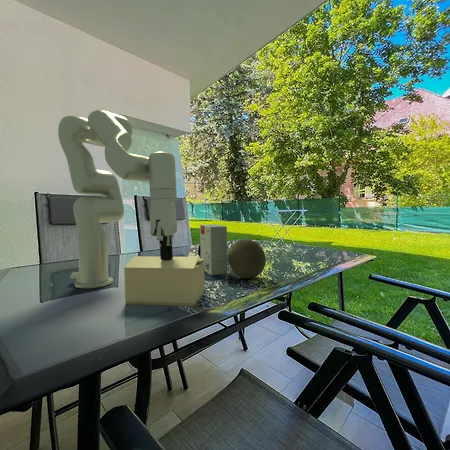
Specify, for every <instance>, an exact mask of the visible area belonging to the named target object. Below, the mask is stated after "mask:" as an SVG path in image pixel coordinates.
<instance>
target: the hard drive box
mask: <svg viewBox="0 0 450 450" xmlns="http://www.w3.org/2000/svg"><path fill="white" fill-rule="evenodd" d="M199 234H200V235H199V237H200V238H199V240H200V241H199V242H200V259H204V272H206V273H207V274H208V275H210V276H219V275H226V274H227V275H228V226H226V225H223V224H222V225H221V224H209V223H208V224H200V225H199Z"/></svg>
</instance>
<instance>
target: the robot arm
mask: <svg viewBox="0 0 450 450" xmlns="http://www.w3.org/2000/svg"><path fill="white" fill-rule="evenodd" d="M57 133H58V141H59V143H60V144H59V145H60V147H61V149H62V151H63V153H64V155H65V158H66V160H67V161H66V162H67V164H68V165H67V166H68V171H69V175H70V179H71V184H72V187H73V190H74V191H75V192H76V193H77V194H80V195H89V196H83V197H80V198H77V199H76V200H75V201H74V203H73V206H72V210H73V211H72V212H73V216H74V220H75V224H76V230H77V231H76V233H77V234H76V235H77V250H78V251H77V253H78V254H77V255H78V271H77V272H76V271H75V272H74V271H73V272H72V273H71V274H70V276H69V277H70V279H76V281H75V282H74V287H75V288H78V289H95V288H101V287H106V286H108V285H111V284H112V283H113V282H114V278H113V277H111V276H109V255H108V236H107V232H106V230H105V228H104V227H103V225H102V224H103V223H104V224H105V223H117V222H119V221H122V219H123V218H124V215H125V208H124V202H123V197H122V193H121V189H120V185H119V181H118V179H117V177H116V175H117V176H118V177H119V178H121V179H123V180H126V181H134V182H143V183H148V184H149V199H150V207H149V208H150V210H149V230H150V231H149V233H150V235H151V236H152V237H156V240H157V242H158V244H159V245H158V246H159V253H160V256H159V257H160V258H161V260H171V259H173V257H174V253H173V242H174V241H173V239H174V236H175V234H176V233H177V231H178V223H177V222H178V221H177V211H176V204H175V203H176V202H177V201H178V199H177V197H178V195H177V178H176V175H177V174H176V160H175V156H174V154H172V153H171V152H165V151H156V152H152V153H150V154H149V155H148V156H144V155H139V154H134V153H130V152H128V151H129V149H130V148H131V146H132V143H133V137H132V135H133V127H132V124H131V122H130V121H129V120H128V119H127V118H126V117H124V116H122V115H118V114H115V113H112V112H109V111H106V110H101V109H95V110H93V111H90V114H89V115H88V117H86V118H85V117H81V116H78V115H66V116H64V117H62V118H61V120H60V121H59V124H58V131H57ZM83 143H84V144H89V145H93V146H98V147H105V148H104V159H105V161H106V164H107V166H109V168H110V169H111V170H112V171H113V172H114V173H112V172H110V171H108V170H102V169H97V168H96V166H95V163H94V162H95V161H94V157H93V156H92V154H91V152H90V151H89V149H88V148H87V147H86V146H85V145H84V144H83Z"/></svg>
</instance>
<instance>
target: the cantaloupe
mask: <svg viewBox="0 0 450 450" xmlns="http://www.w3.org/2000/svg"><path fill="white" fill-rule="evenodd" d="M227 263H228V265H229V268H230V269H231V271H232V272H233V273H234V274H235V275H236V276H238V277H240V278H241V279H245V280H246V279H247V280H250V279H254V278H257V277H258V276H259V275H261V274H262V272H263V271H264V270H265V267H266V264H267V258H266V253H265V251H264V248H263V247H262V246H261V244H260V243H258V242H257V241H255V240H253V239H242V240H239V241H236V242H234V243H233V244H232V245H231V247H230V248H229V249H228V251H227Z"/></svg>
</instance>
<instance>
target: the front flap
mask: <svg viewBox="0 0 450 450" xmlns="http://www.w3.org/2000/svg"><path fill="white" fill-rule="evenodd" d="M199 259H200V256H173V259H171V260H161V258H160V256H151V255H150V256H139V255H137V256H135V255H134V256H133V257H132V258H131V260H130V261H129V262H128V263H127V264H126V265H125V266H124V268H123V269H156V270H194V269H195V267H196V264H197V262H198V260H199Z"/></svg>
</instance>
